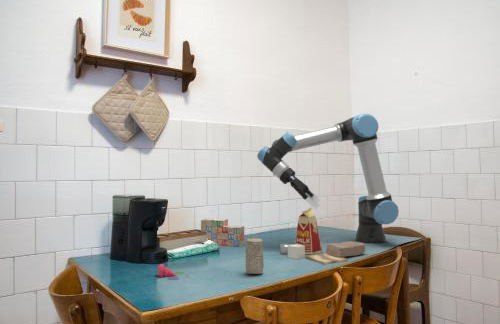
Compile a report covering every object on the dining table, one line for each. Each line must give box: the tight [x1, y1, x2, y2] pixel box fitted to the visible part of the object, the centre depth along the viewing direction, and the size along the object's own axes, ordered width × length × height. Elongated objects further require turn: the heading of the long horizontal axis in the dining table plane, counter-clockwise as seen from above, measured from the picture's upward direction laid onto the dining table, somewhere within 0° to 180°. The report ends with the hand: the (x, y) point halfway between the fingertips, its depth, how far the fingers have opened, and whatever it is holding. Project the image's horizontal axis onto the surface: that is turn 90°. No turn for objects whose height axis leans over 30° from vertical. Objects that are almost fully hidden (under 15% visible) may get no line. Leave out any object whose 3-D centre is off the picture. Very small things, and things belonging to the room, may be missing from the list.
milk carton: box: [295, 206, 323, 255], centre depth 168 cm, size 9×9×20 cm
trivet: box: [304, 252, 349, 265], centre depth 153 cm, size 12×12×1 cm
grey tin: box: [279, 243, 292, 256], centre depth 165 cm, size 5×5×4 cm
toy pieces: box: [156, 263, 188, 281], centre depth 130 cm, size 12×11×4 cm
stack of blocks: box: [200, 218, 245, 248], centre depth 188 cm, size 21×6×12 cm, turn 68°
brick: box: [325, 241, 366, 258], centre depth 161 cm, size 17×8×5 cm, turn 126°
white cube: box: [287, 243, 306, 260], centre depth 157 cm, size 5×5×5 cm
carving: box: [244, 237, 265, 275], centre depth 132 cm, size 6×8×12 cm
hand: (318, 204), depth 169 cm, fingers open, 13 cm apart
